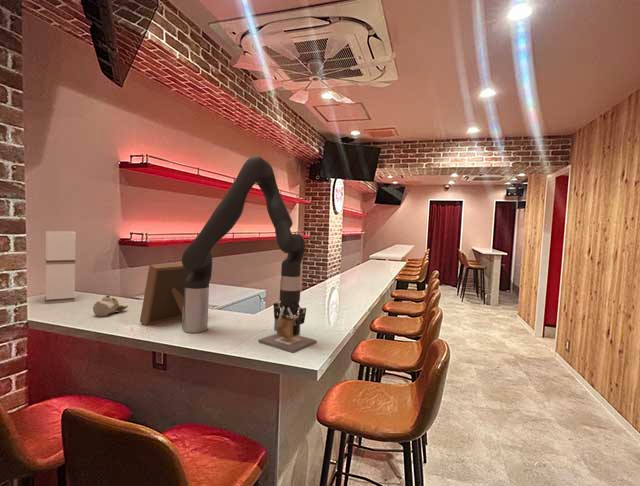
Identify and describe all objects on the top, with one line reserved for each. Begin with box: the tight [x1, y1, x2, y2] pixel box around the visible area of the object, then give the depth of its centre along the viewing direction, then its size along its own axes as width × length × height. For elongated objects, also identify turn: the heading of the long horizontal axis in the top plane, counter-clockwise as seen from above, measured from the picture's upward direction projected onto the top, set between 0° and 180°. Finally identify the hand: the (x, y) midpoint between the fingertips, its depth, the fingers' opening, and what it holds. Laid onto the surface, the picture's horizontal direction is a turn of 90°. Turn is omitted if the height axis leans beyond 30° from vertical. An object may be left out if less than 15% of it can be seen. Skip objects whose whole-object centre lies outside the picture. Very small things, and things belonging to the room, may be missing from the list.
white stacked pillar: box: [44, 230, 77, 305], centre depth 174 cm, size 11×11×35 cm
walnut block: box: [276, 316, 301, 339], centre depth 127 cm, size 6×6×6 cm
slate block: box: [273, 315, 295, 332], centre depth 143 cm, size 6×6×6 cm
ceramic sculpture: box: [92, 295, 129, 318], centre depth 155 cm, size 11×9×15 cm
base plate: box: [258, 333, 318, 354], centre depth 127 cm, size 16×14×1 cm
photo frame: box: [139, 262, 189, 327], centre depth 147 cm, size 15×22×25 cm
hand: (288, 333), depth 127 cm, fingers closed on walnut block, 6 cm apart
